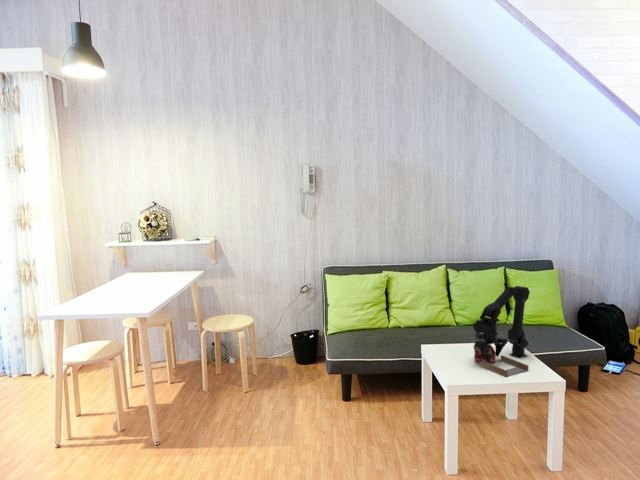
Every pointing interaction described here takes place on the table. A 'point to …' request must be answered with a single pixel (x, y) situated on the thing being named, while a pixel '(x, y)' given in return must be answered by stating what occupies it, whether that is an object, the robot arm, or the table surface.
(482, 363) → the walnut channel
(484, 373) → the table surface
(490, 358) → the toy fire truck
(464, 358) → the table surface
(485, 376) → the table surface
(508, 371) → the pad
